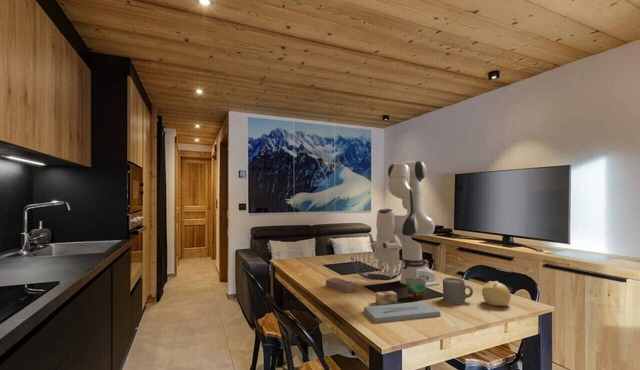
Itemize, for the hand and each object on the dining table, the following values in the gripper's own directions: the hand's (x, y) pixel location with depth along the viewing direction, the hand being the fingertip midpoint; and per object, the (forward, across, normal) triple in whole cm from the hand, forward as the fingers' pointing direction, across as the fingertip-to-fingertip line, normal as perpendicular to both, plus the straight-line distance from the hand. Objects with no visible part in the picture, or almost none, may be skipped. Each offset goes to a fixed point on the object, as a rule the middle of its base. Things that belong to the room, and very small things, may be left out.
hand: (385, 271), depth 153 cm
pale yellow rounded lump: (+15, +14, +50) cm, 54 cm away
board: (+15, +14, +1) cm, 21 cm away
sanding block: (+15, 0, 0) cm, 15 cm away
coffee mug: (+15, +6, +35) cm, 39 cm away
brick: (+16, -28, -14) cm, 35 cm away
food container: (+15, -4, +20) cm, 26 cm away
